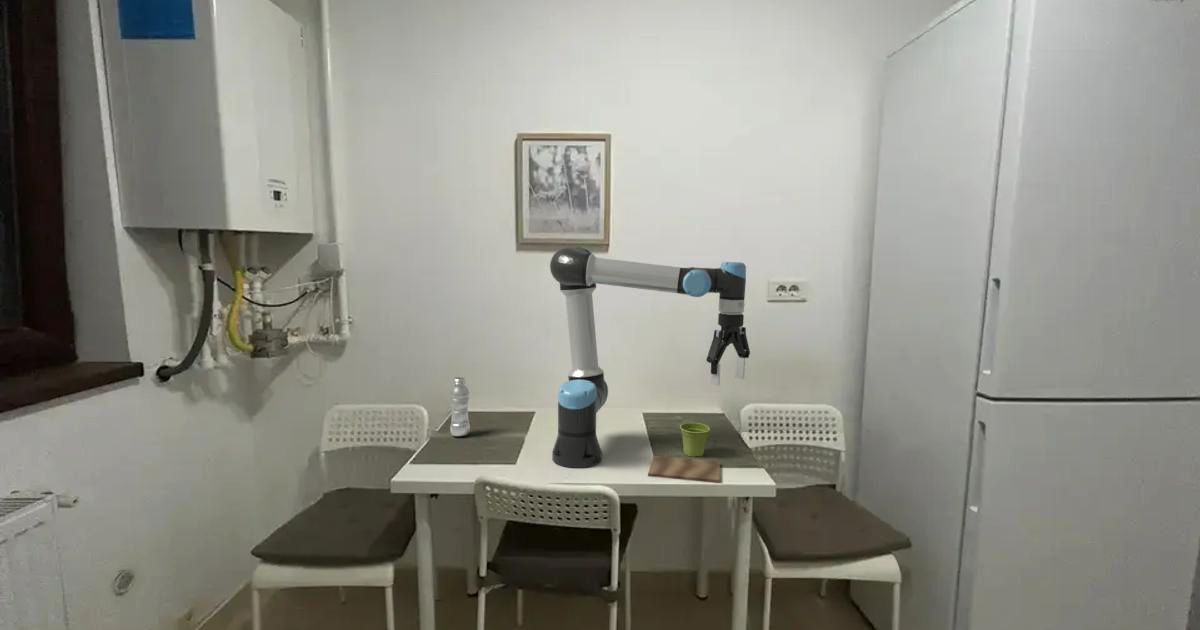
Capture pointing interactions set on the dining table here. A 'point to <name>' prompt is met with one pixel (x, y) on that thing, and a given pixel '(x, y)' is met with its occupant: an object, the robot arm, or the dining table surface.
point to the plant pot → (694, 438)
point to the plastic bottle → (459, 408)
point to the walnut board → (685, 469)
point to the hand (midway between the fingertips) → (727, 381)
